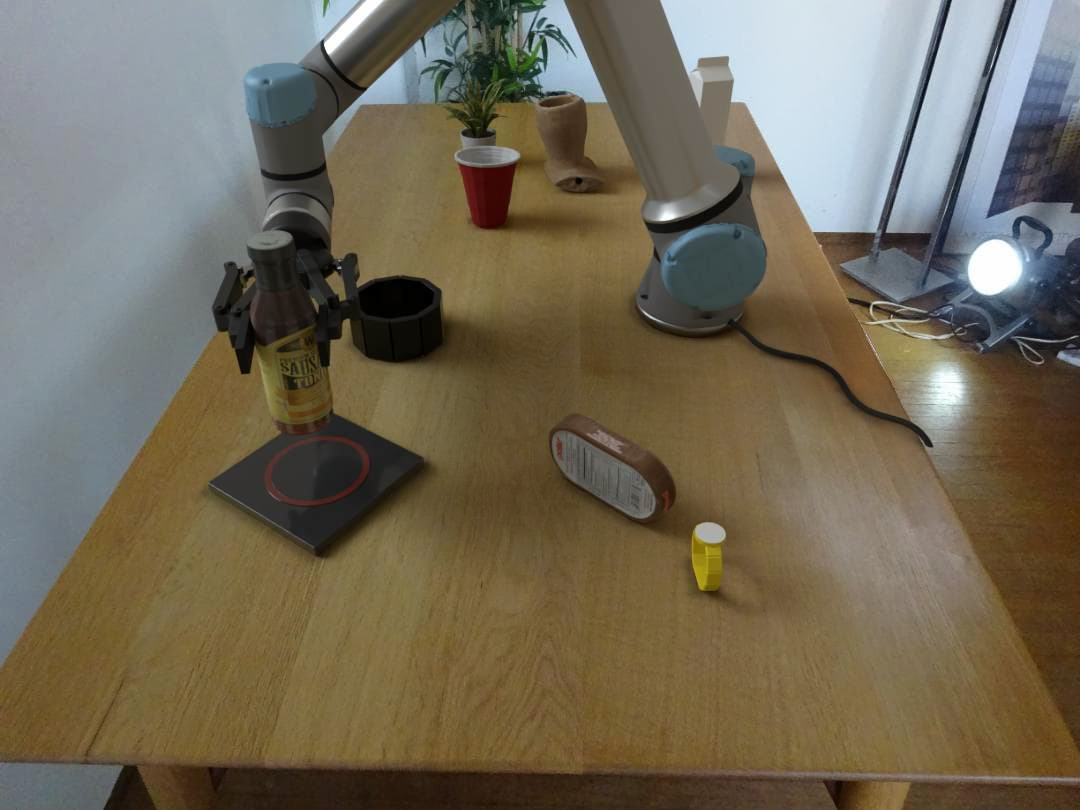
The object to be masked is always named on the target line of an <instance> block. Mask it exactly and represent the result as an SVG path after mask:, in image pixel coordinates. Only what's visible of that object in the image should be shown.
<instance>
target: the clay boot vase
mask: <svg viewBox="0 0 1080 810" xmlns="http://www.w3.org/2000/svg"><path fill="white" fill-rule="evenodd" d="M534 116H535V124H536V128H537V131H538V133H539V136H540V138H541V141H542V143H543V146H544V148H545V152H546V155H547V159H545V161H544V162H543V163H544V164H543V166H544V167H543V168H544V171H545V174H546V175H547V176H548V178H549V179H550V181H551V183H552V184H553V185H554V186H555V187H557V188H560V189H562V190H565V191H568V192H573V193H582V192H583V193H584V192H590V191H594V190H597V189H601V188H603V187H604V186H605V185H606V184H607V181H606V179H605V177H604V175H603V173H602V172H601V170H600V169H599V167H598V166H597V164H596V163H595V162H594V161H593V159H591V158H590V157H589V156H586V155H585V145H586V138H587V133H588V127H589V126H588V125H589V124H588V112H587V103H586V102H585V99H584V98H583V97H580V96H578V95H577V94H573V93H572V94H571V93H570V94H567V93H566V94H559V95H555V96H554V95H553V96H548V97H545V98H542V99H540V100H538V101H537V102H536V103H535V105H534Z"/></svg>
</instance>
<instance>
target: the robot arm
mask: <svg viewBox="0 0 1080 810" xmlns="http://www.w3.org/2000/svg"><path fill="white" fill-rule="evenodd" d="M461 1H462V0H358V1H357V3H355V4H354V5H353V7H351V8H350V10H348V12H347V13H346V14H345V15H344V16H343V17H342V18H341V19H340V20H339V21H338V22H337V23H336V24H335V25H334V26H333V27H332V28H331V29H330V30H329V31H328V32H327V33H326V35H325V36H324V37H323V38H322V39H321V40H320V41H318V42H317V43H316V45H315V46H314V47H313V48H312V49H311V50H310V51H309V52H308V53H307V54H306V55H305V56H304V57H303V58H302V59H301V60H300V61H299V62H298V63H295V62H294V63H293V62H271V63H265V64H261V65H260V66H255V67H252V68H249V70H247V72H246V73H245V74H244V76H243V79H242V81H243V82H242V84H243V89H244V97H245V104H244V105H245V111H246V114H247V116H248V120H249V124H250V129H251V134H252V137H253V142H254V143H253V144H254V146H255V152H256V156H257V160H258V164H259V170H260V177H261V181H262V186H263V191H264V195H265V202H266V208H265V214H264V217H263V223H262V227H261V232H264V231H275V230H278V231H285V232H288V233H290V234H291V235H292V236H293V239H294V243H295V247H296V253H295V260H296V265H297V271H298V274H299V276H300V281H301V283H302V284H303V286H304V287H305V288H306V290H307V291H308V292H309V294H310V297H311V299H314V301H315V302H316V304H317V305H318V308H317V309H318V310H317V311H318V312H317V313H318V325H317V347H318V353H319V358H320V363H321V367H327V366H328V367H331V343H332V341H334V340H335V341H336V340H341V339H342V337H343V324H344V321H346V320H349V319H350V320H351V321H358V320H360V319H361V318H362V316H361V309H360V302H359V295H358V290H357V288H358V285H357V282H358V281H359V279H360V276H361V273H360V265H359V259H358V254H357V253H355V252H349V253H346V254H345V256H344V257H343V258H335V257H334V255H333V254H332V241H333V240H332V238H333V236H332V235H333V224H332V223H333V212H334V210H333V209H334V207H335V193H334V189H333V185H332V182H331V180H330V178H329V172H328V166H327V160H326V152H325V151H326V150H325V146H324V139H323V136H324V134H325V133H326V132H328V130H329V129H330V128H331V127H332V126H333V125H334V123H335V122H336V121H337V120H338V119H339V118H340V117H341V116H342V115H343V114H344V113H345V112H346V111H347V110H348V109H349V108H350V107H351V106H352V105H353V104H354V103H355V102H356V101H357V100H358V99H359V98H360V97H362V96H363V94H365V92H367V90H368V89H369V88H370V87H371V86H372V85H373V84H374V83H375V82H376V81H377V80H378V79H380V78H381V77H382V76H383V75H384V74H386V72H387V71H388V70H389V69H390V68H391V67H392V66H393V65H394V64H395V63H396V62H398V61H399V60H400V59H401V58H402V57H403V56H404V55H405V54H407V52H408V51H409V50H410V49H411V48H412V47H413V46H414V45H416V44H417V43H418V42H419V41H420V40H421V39H422V38H423V37H424V36H425V35H426V34H427V33H428V32H429V31H431V29H432V28H433V27H434V26H435V25H437V24H438V23H439V22H440V21H441V20H442V19H443V18H444V17H446V15H447V14H448V13H449V12H450V11H452V10H453V8H455V7H456V6H457V5H458V4H459V3H460V2H461ZM563 1H564V5H565V7H566V9H567V11H568V14H569V16H570V19H571V21H572V23H573V25H574V27H575V30H576V33H577V35H578V37H579V40H580V41H581V44H582V47H583V49H584V50H585V53H586V56H587V58H588V60H589V63H590V65H591V68H592V70H593V72H594V74H595V77H596V79H597V81H598V83H599V86H600V89H601V91H602V93H603V95H604V98H605V100H606V102H607V104H608V107H609V110H610V112H611V114H612V116H613V119H614V121H615V124H616V126H617V128H618V130H619V132H620V135H621V137H622V139H623V142H624V144H625V146H626V149H627V152H628V153H629V156H630V158H631V161H632V163H633V166H634V167H635V170H636V172H637V174H638V177H639V179H640V181H641V184H642V186H643V188H644V190H645V193H646V195H645V198H644V200H643V202H642V205H641V206H640V214H641V218H642V220H643V222H644V225H645V227H646V230H647V232H648V234H649V236H650V239H651V241H652V243H653V252H652V256H651V259H650V261H649V263H648V266H647V268H646V270H645V271H644V274H643V276H642V277H641V281H640V283H639V284H638V285H637V286H638V287H637V289H636V293H635V303H634V307H635V311H636V313H637V315H638V316H639V317H640V318H641V320H643V321H644V322H645V323H646V324H648V325H650V326H651V327H653V328H655V329H657V330H660V331H662V332H665V333H668V334H672V335H676V336H682V337H683V336H684V337H689V338H690V337H691V338H692V337H693V338H697V337H699V338H701V337H703V338H704V337H711V336H713V337H714V336H717V335H721V334H724V333H727V332H729V331H732V330H733V329H735V330H736V331H737V332H739V334H741V335H742V336H743V337H745V338H746V339H747V340H748V341H749V342H750V343H751V344H752V345H753V346H755V347H756V348H757V349H760V350H761V351H763V352H765V353H768V354H771V355H774V356H777V357H781V358H785V359H791V360H795V361H800V362H804V363H805V362H806V363H809V364H812V365H814V366H817V367H819V368H821V369H823V370H825V372H827V373H828V374H830V375H831V376H832V377H833V378H834V380H835V381H836V382H837V383H838V385H839V387H840V389H841V390H842V392H843V393H844V395H845V396H846V398H847V399H848V400H849V401H850V402H851V404H853V406H855V407H856V408H858V409H859V410H860V411H861V412H863V413H865V414H868V415H869V416H872V417H874V418H877V419H881V420H884V421H888V422H892V423H895V424H898V425H901V426H903V427H906V428H907V429H910V430H911V431H912V432H914V433H915V434H916V435H917V436H918V437H919V438H920V440H921V441H922V442H923V444H924V446H926V447H928V448H930V449H932V448H934V444H933V443H932V440H931V438H930V437H929V435H928V434H927V433H926V432H925V431H924V430H923V429H922V428H921V427H919V425H917V424H915V423H914V422H912V421H910V420H908V419H906V418H903V417H900V416H897V415H893V414H890V413H886V412H882V411H879V410H877V409H874V408H872V407H869V406H868V405H866V404H864V402H862V401H861V400H860V399H858V398H857V397H856V396H855V395H854V393H853V392H852V390H851V389H850V387H849V385H848V384H847V382H846V380H845V379H844V378H843V376H842V375H841V374H840V373H839V372H838V371H837V370H836V369H835V368H834V367H833V366H831V365H829V364H827V363H826V362H824V361H822V360H821V359H817V358H815V357H812V356H808V355H804V354H799V353H794V352H789V351H784V350H780V349H777V348H774V347H772V346H771V347H770V346H768V345H766V344H764V343H762V342H760V341H759V340H758V339H757V338H756V337H755V336H754V335H753V334H752V333H750V331H748V330H747V329H746V328H744V327H743V326H742V325H741V324H740V323H741V321H742V320H743V316H744V311H745V300H746V299H748V298H749V297H751V295H753V294H754V292H755V291H756V290H757V289H758V287H759V286H760V284H761V283H762V281H763V279H764V277H765V274H766V271H767V266H768V265H767V264H768V261H767V258H768V249H767V244H766V242H765V241H764V239H763V237H762V233H761V230H760V229H761V228H760V226H759V223H758V219H757V215H756V212H755V208H754V206H753V201H752V188H753V183H754V178H756V175H757V173H756V160H755V158H754V156H752V154H750V153H749V152H747V151H745V150H742V149H739V148H735V147H729V146H725V145H724V146H717V145H713V142H712V140H711V137H710V134H709V131H708V129H707V126H706V123H705V121H704V118H703V115H702V112H701V110H700V107H699V104H698V101H697V99H696V96H695V93H694V91H693V88H692V85H691V82H690V80H689V73H688V72H687V69H686V66H685V63H684V60H683V59H682V58H683V57H682V56H681V53H680V50H679V48H678V45H677V42H676V39H675V37H674V34H673V31H672V28H671V26H670V22H669V21H668V17H667V14H666V12H665V9H664V7H663V4H662V1H661V0H563ZM223 269H224V273H225V274H224V277H223V279H222V282H221V284H220V286H219V288H218V291H217V293H216V296H215V298H214V301H213V303H212V305H211V312H212V316H213V319H214V323H215V326H216V329H217V332H220V333H225V332H227V336H228V339H229V343H230V346H231V348H232V349H234V353H235V356H236V361H237V363H238V368H239V371H240V375H250V374H251V370H252V365H253V359H254V352H255V348H256V347H255V342H254V338H253V333H254V332H253V327H252V323H251V318H250V307H251V301H252V299H253V297H254V295H255V293H256V291H257V286H256V283H255V280H256V277H255V273H254V268H253V263H252V261H251V262H250V264H248V265H243V266H242V265H237V263H236V261H230V260H229V261H226V262H224V263H223ZM335 272H336V273H337V276H338V277H340V279H341V282H343V287H344V294H345V299H343V300H340V295H339V292H337V293H335V292H334V290H333V289H332V287H331V285H330V284H329V283H328V281H327V278H329V277H330V276H332V275H333V274H334V273H335ZM251 278H254V279H255V280H254V281H253V282H252V283H251V285H250V286H249V287H248V284H247V283H249V281H250V279H251ZM244 289H246V290H245V291H244ZM350 320H349V321H350Z"/></svg>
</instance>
